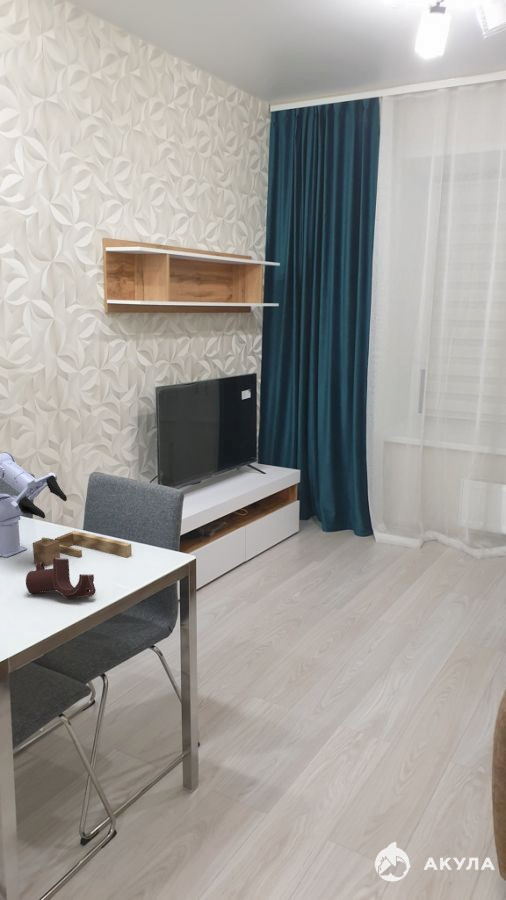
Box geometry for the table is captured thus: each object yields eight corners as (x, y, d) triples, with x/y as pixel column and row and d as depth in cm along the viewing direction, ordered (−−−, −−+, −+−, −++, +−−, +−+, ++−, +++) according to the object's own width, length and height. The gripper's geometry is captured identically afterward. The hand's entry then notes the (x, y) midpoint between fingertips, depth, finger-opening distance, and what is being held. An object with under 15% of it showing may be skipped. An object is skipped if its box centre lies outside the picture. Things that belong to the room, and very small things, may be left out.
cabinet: (34, 563, 200) (32, 539, 199) (47, 557, 204) (45, 534, 203) (46, 566, 198) (45, 542, 196) (60, 560, 202) (58, 537, 200)
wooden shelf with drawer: (52, 550, 209) (52, 539, 208) (74, 541, 217) (74, 530, 216) (110, 565, 198) (109, 553, 198) (131, 555, 206) (131, 543, 205)
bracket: (88, 595, 173) (85, 553, 175) (25, 602, 177) (24, 561, 179) (100, 594, 178) (97, 554, 180) (39, 601, 183) (37, 562, 185)
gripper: (-3, 487, 193) (31, 514, 188) (39, 456, 201) (73, 482, 196) (2, 503, 198) (35, 530, 193) (43, 472, 206) (76, 497, 201)
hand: (54, 507), depth 195 cm, fingers open, 7 cm apart
